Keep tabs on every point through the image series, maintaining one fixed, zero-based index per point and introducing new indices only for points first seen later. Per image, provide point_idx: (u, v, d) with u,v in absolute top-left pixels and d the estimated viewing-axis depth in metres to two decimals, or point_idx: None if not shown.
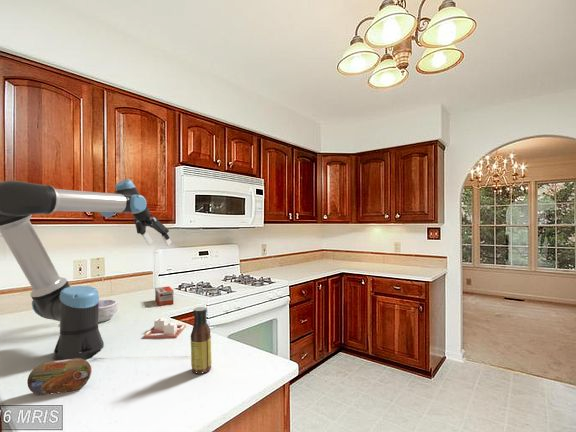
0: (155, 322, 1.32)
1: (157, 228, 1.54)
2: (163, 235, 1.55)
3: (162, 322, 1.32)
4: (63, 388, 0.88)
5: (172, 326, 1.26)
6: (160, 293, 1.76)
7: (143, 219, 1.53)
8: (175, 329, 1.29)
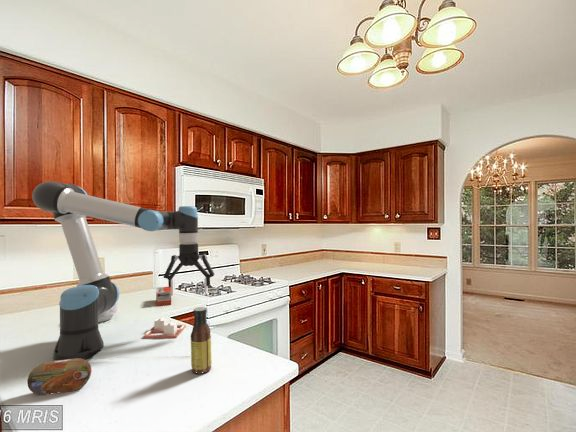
0: (155, 322, 1.32)
1: (202, 269, 1.30)
2: (208, 278, 1.30)
3: (162, 322, 1.32)
4: (63, 388, 0.88)
5: (172, 326, 1.26)
6: (157, 293, 1.76)
7: (189, 255, 1.30)
8: (175, 329, 1.29)
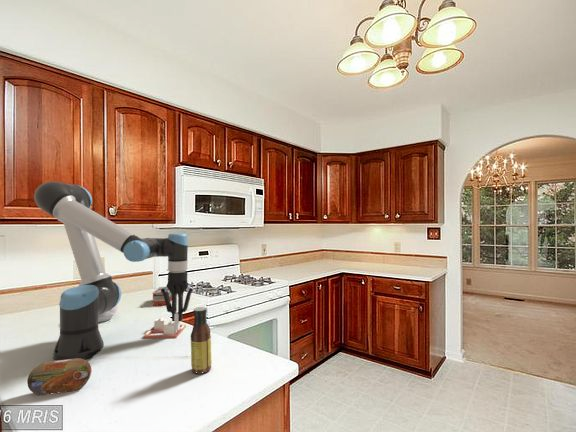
0: (155, 322, 1.32)
1: (181, 302, 1.28)
2: (179, 313, 1.27)
3: (162, 322, 1.32)
4: (63, 388, 0.88)
5: (172, 326, 1.26)
6: (154, 293, 1.76)
7: (177, 283, 1.28)
8: None
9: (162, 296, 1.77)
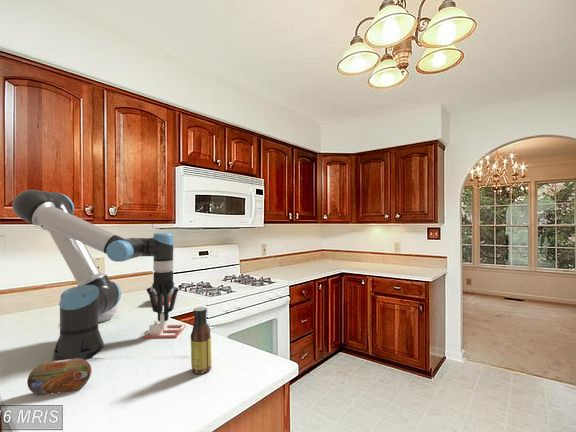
0: None
1: (167, 302, 1.28)
2: (165, 313, 1.27)
3: None
4: (63, 388, 0.88)
5: (158, 326, 1.26)
6: None
7: (163, 283, 1.27)
8: None
9: None
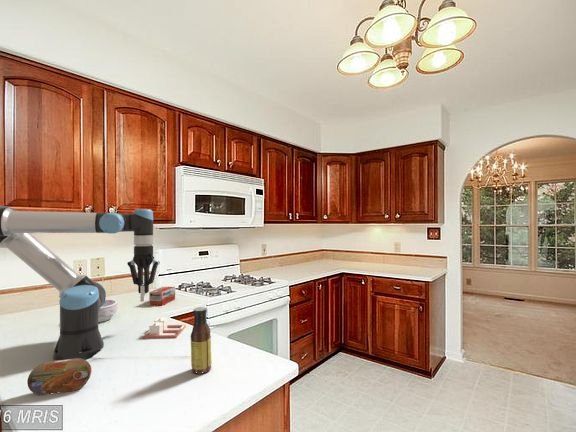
0: None
1: (147, 275, 1.33)
2: (145, 285, 1.33)
3: None
4: (63, 388, 0.88)
5: (158, 326, 1.26)
6: (150, 292, 1.77)
7: (143, 257, 1.33)
8: (161, 329, 1.28)
9: (157, 296, 1.77)
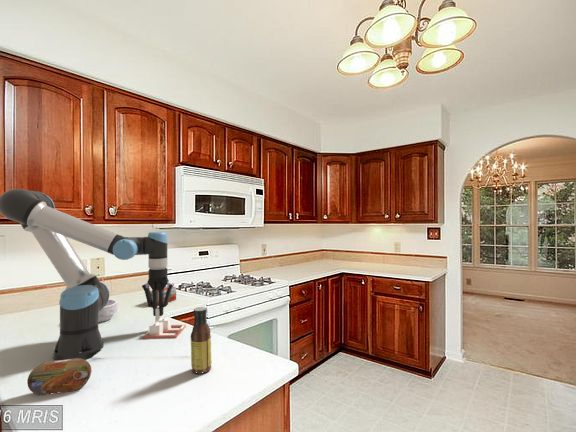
0: None
1: (162, 297, 1.34)
2: (160, 308, 1.33)
3: (166, 322, 1.32)
4: (63, 388, 0.88)
5: (158, 326, 1.26)
6: None
7: (158, 280, 1.33)
8: (161, 329, 1.28)
9: None
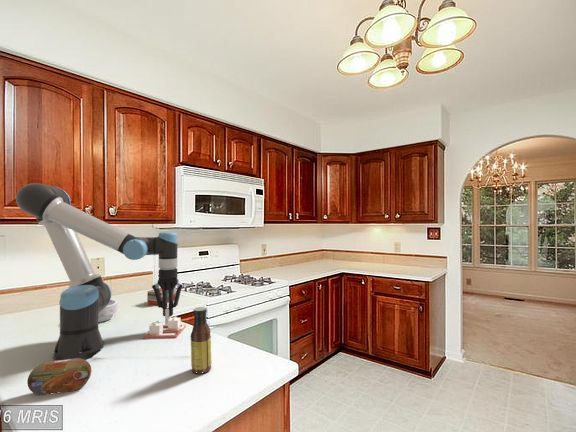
0: (169, 322, 1.32)
1: (172, 298, 1.34)
2: (170, 309, 1.33)
3: (176, 322, 1.32)
4: (63, 388, 0.88)
5: (158, 326, 1.26)
6: (148, 292, 1.79)
7: (168, 280, 1.33)
8: (161, 329, 1.28)
9: (154, 296, 1.77)
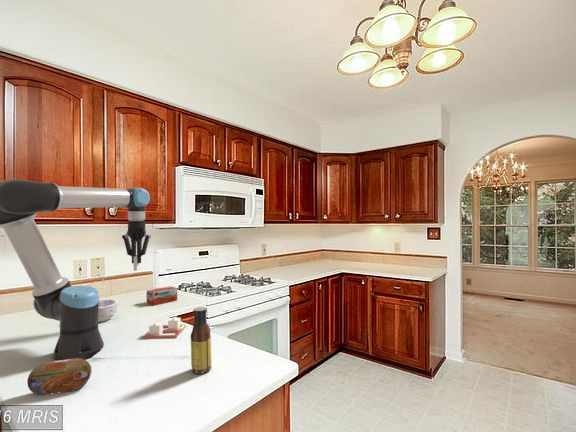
0: (169, 322, 1.32)
1: (140, 247, 1.49)
2: (138, 256, 1.48)
3: (176, 322, 1.32)
4: (63, 388, 0.88)
5: (158, 326, 1.26)
6: (147, 291, 1.81)
7: (136, 231, 1.48)
8: (161, 329, 1.28)
9: (150, 295, 1.78)
